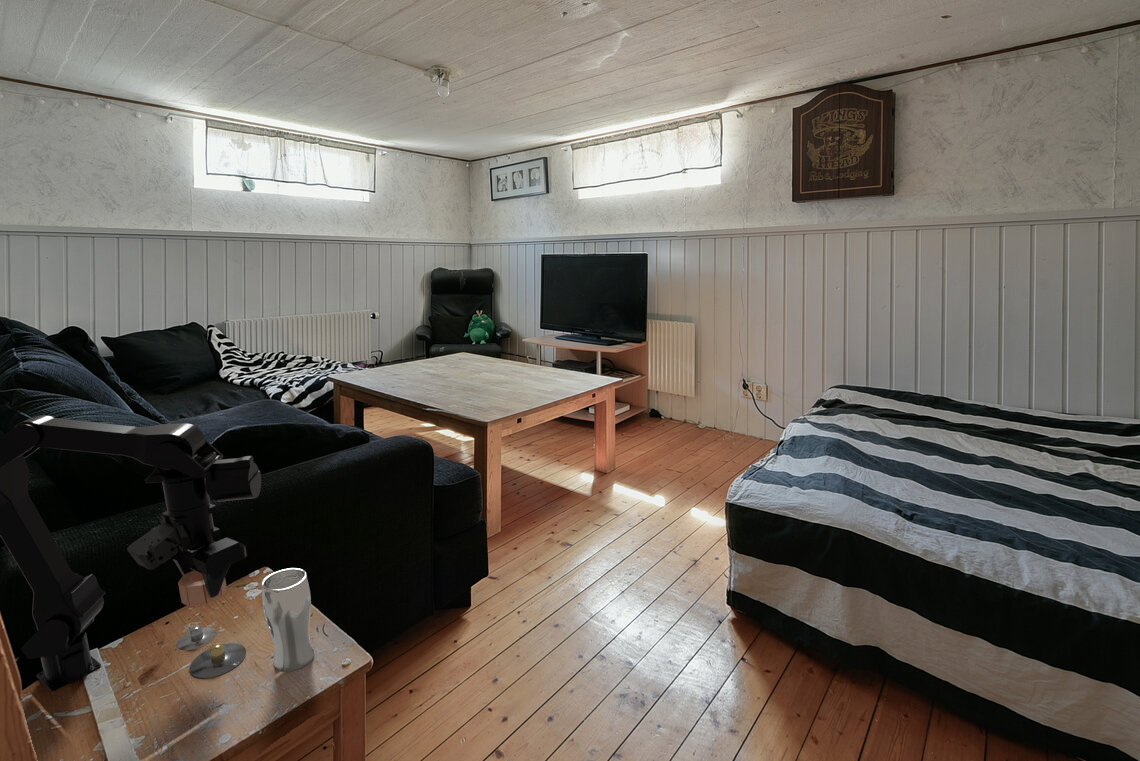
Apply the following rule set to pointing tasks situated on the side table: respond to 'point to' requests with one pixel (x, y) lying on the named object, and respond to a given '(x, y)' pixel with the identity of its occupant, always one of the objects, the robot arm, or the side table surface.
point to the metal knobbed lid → (196, 637)
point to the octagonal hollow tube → (196, 590)
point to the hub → (217, 660)
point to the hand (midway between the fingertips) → (203, 591)
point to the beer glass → (288, 617)
